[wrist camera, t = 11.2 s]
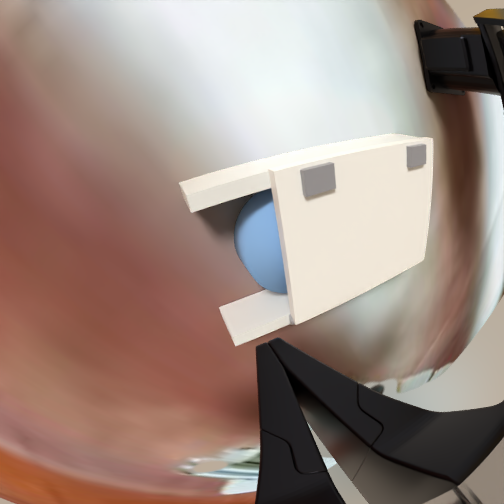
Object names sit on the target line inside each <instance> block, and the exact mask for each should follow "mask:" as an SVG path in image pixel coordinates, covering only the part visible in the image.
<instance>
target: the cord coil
mask: <svg viewBox="0 0 504 504" xmlns="http://www.w3.org/2000/svg"><path fill="white" fill-rule="evenodd" d="M234 244H235V249H236V252H237V254H238V256H239V258H240V260H241V261H242V262H243V264H244V265H245V267H246V268H247V269H248V271H249V272H250V274H251V275H252V276H253V278H254V279H255V280H256V281H257V282H258V284H260V285H261V286H262V287H264V288H265V289H267V290H270V291H273V292H277V293H288V292H287V285H286V278H285V271H284V265H283V258H282V251H281V245H280V239H279V232H278V226H277V220H276V214H275V207H274V201H273V195H272V190H271V188H269V189H266V190H262V191H259V192H258V193H256V194H255V195H254V196H253V197H252V198H251V199H250V200H249V201H248V202H247V203H246V204H245V206H244V207H243V208H242V210H241V212H240V214H239V216H238V218H237V221H236V225H235V229H234Z"/></svg>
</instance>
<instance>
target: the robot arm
mask: <svg viewBox="0 0 504 504" xmlns="http://www.w3.org/2000/svg"><path fill="white" fill-rule="evenodd" d="M473 18H474V20H475V22H476V23H477V25H478V27H475V28H449V29H443V28H441V27H438V26H436V25H433V24H431V23H428V22H425V21H422V20H415V22H414V24H415V28H416V32H417V36H418V41H419V45H420V50H421V55H422V60H423V66H424V72H425V78H426V85H427V89H428V91H429V92H437V93H447V94H456V95H464V94H465V91H471V92H479V93H486V94H492V95H499V96H501V99H502V104H503V108H504V30H502V29H501V26H503V28H504V9H486V10H484V11H482V12H481V13H479V14H477V15H475V16H474V17H473ZM256 364H257V384H258V404H259V424H260V466H259V476H258V484H257V492H256V500H255V504H346V503H345V501H344V500H343V498H342V497H341V495H340V494H339V492H338V490H337V489H336V487H335V485H334V483H333V481H332V479H331V477H330V475H329V473H328V470H327V468H326V465H325V463H324V461H323V459H322V456H321V454H320V452H319V449H318V447H317V445H316V442H315V440H314V438H313V435H312V433H311V431H310V428H309V426H308V424H307V422H308V423H309V425H310V426H311V428H312V429H313V430H314V432H315V433H316V435H317V436H318V437H319V439H320V440H321V441H322V443H323V444H324V445H325V447H326V448H327V450H328V451H329V452H330V454H331V455H332V456H333V458H334V459H335V461H336V462H337V463H338V464H339V466H340V467H341V468H342V470H343V471H344V472H345V474H346V475H347V476H348V478H349V479H350V480H351V481H352V483H353V484H354V485H355V487H356V488H357V489H358V490H359V492H360V493H361V494H362V496H363V497H364V498H365V499H366V501H367V502H368V503H369V504H504V400H503V401H502V402H501V403H499V404H497V405H494V406H490V407H484V408H478V409H470V410H462V411H452V412H434V411H429V410H425V409H422V408H419V407H416V406H413V405H410V404H407V403H404V402H401V401H398V400H395V399H393V398H390V397H388V396H385V395H383V394H380V393H378V392H376V391H374V390H372V389H370V388H368V387H366V386H364V385H362V384H360V383H359V384H358V382H356V381H355V380H353V379H351V378H349V377H347V376H345V375H343V374H342V373H340V372H338V371H336V370H334V369H333V368H331V367H329V366H327V365H325V364H324V363H322V362H320V361H318V360H317V359H315V358H313V357H311V356H310V355H308V354H306V353H305V352H303V351H301V350H299V349H298V348H296V347H294V346H293V345H291V344H289V343H288V342H286V341H284V340H283V339H281V338H275V339H272V340H270V341H268V343H266V342H265V343H263V344H260V345H258V346H256Z"/></svg>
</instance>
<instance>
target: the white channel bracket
mask: <svg viewBox="0 0 504 504" xmlns="http://www.w3.org/2000/svg"><path fill="white" fill-rule="evenodd" d="M415 138H419V137H414V136H408V135H402V134H396V133H391V134H384V135H377V136H370V137H364V138H358V139H352V140H346V141H341V142H335V143H330V144H325V145H320V146H315V147H310V148H306V149H301V150H297V151H292V152H288V153H283V154H279V155H275V156H271V157H267V158H263V159H259V160H255V161H251V162H247V163H244V164H240V165H236V166H233V167H229V168H226V169H222V170H219V171H215V172H212V173H208V174H205V175H202V176H199V177H195V178H192V179H189V180H186V181H183V182H180V183H179V185H180V188H181V191H182V195H183V198H184V200H185V202H186V204H187V206H188V208H189V210H190V211H191V213H192V212H195V211H198V210H201V209H204V208H207V207H211V206H214V205H217V204H220V203H223V202H226V201H229V200H233V199H236V198H239V197H242V196H246V195H249V194H252V193H256V192H259V191H262V190H266V189H269V188H271V184H270V178H269V172H268V169H269V168H273V167H277V166H281V165H285V164H289V163H293V162H297V161H301V160H305V159H310V158H314V157H319V156H323V155H328V154H332V153H337V152H342V151H347V150H351V149H357V148H362V147H367V146H372V145H378V144H384V143H390V142H396V141H402V140H408V139H415ZM219 309H220V312H221V315H222V317H223V320H224V322H225V324H226V326H227V329H228V331H229V333H230V335H231V338H232V340H233V342H234V344H235V346H237V345H240V344H243V343H245V342H248V341H250V340H253V339H255V338H258V337H260V336H263V335H265V334H267V333H270V332H272V331H275V330H277V329H279V328H282V327H284V326H286V325H289V324H291V325H293V324H295V323H294V321H293V318H292V316H291V314H290V306H289V299H288V293H277V292H273V291H270V290H267V289H266V290H263V291H261V292H258V293H255V294H253V295H250V296H248V297H245V298H242V299H240V300H237V301H234V302H232V303H229V304H226V305H224V306H221V307H219Z"/></svg>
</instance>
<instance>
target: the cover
mask: <svg viewBox="0 0 504 504" xmlns="http://www.w3.org/2000/svg"><path fill="white" fill-rule="evenodd" d="M268 172H269V178H270V184H271V190H272V195H273V201H274V207H275V214H276V220H277V226H278V232H279V239H280V245H281V251H282V258H283V265H284V271H285V278H286V285H287V292H288V299H289V306H290V314H291V316H292V318H293V321H294V323H295V325H297V324H300V323H302V322H304V321H306V320H309V319H311V318H313V317H315V316H317V315H319V314H322V313H324V312H326V311H328V310H330V309H332V308H334V307H336V306H338V305H340V304H342V303H345V302H347V301H349V300H351V299H353V298H355V297H357V296H359V295H360V294H362V293H364V292H366V291H368V290H370V289H372V288H374V287H376V286H378V285H380V284H382V283H383V282H385V281H387V280H389V279H391V278H393V277H394V276H396V275H398V274H400V273H402V272H403V271H405V270H407V269H409V268H411V267H412V266H414V265H416V264H417V263H419V262H421V261H423V260H424V255H425V249H426V242H427V235H428V227H429V218H430V208H431V195H432V178H433V139H432V138H428V137H422V138H415V139H408V140H402V141H396V142H390V143H384V144H378V145H372V146H367V147H362V148H357V149H351V150H347V151H342V152H337V153H332V154H328V155H323V156H319V157H314V158H310V159H305V160H301V161H297V162H293V163H289V164H285V165H281V166H277V167H273V168H269V169H268Z"/></svg>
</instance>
